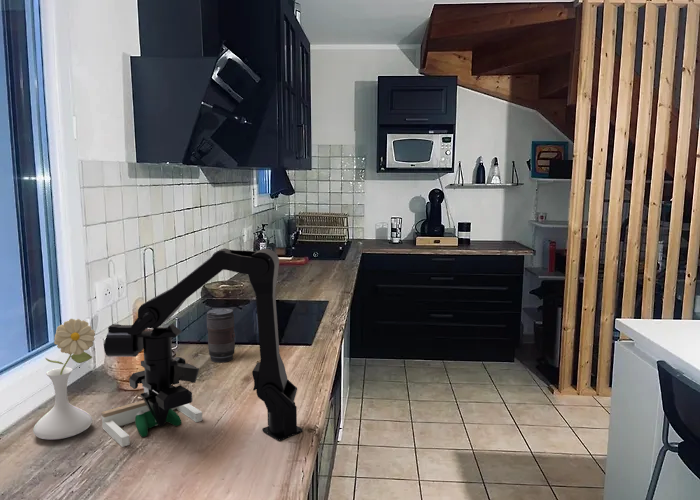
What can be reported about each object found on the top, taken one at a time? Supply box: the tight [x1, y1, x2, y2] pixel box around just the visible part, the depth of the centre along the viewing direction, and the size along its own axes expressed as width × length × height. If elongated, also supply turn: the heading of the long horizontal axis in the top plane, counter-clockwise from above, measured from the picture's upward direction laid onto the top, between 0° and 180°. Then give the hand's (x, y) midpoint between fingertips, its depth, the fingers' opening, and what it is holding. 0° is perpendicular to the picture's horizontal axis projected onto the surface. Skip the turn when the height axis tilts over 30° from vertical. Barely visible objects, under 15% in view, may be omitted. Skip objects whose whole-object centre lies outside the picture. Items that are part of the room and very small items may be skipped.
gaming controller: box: [135, 409, 182, 438], centre depth 120 cm, size 9×4×6 cm
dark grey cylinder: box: [206, 307, 236, 363], centre depth 164 cm, size 8×8×15 cm
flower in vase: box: [32, 318, 96, 440], centre depth 116 cm, size 13×11×25 cm
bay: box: [101, 399, 203, 448], centre depth 121 cm, size 12×18×4 cm, turn 133°
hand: (161, 425), depth 118 cm, fingers closed
